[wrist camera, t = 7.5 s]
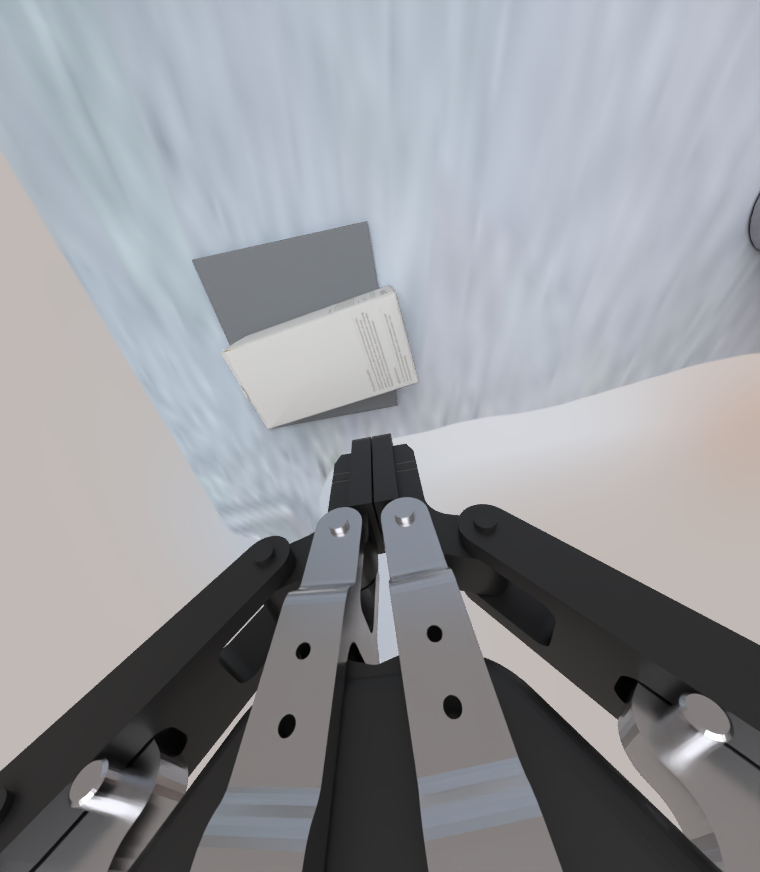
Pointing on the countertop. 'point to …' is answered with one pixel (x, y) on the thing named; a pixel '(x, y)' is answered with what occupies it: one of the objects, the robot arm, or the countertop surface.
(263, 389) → the skincare box
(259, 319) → the mat
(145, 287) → the countertop surface
